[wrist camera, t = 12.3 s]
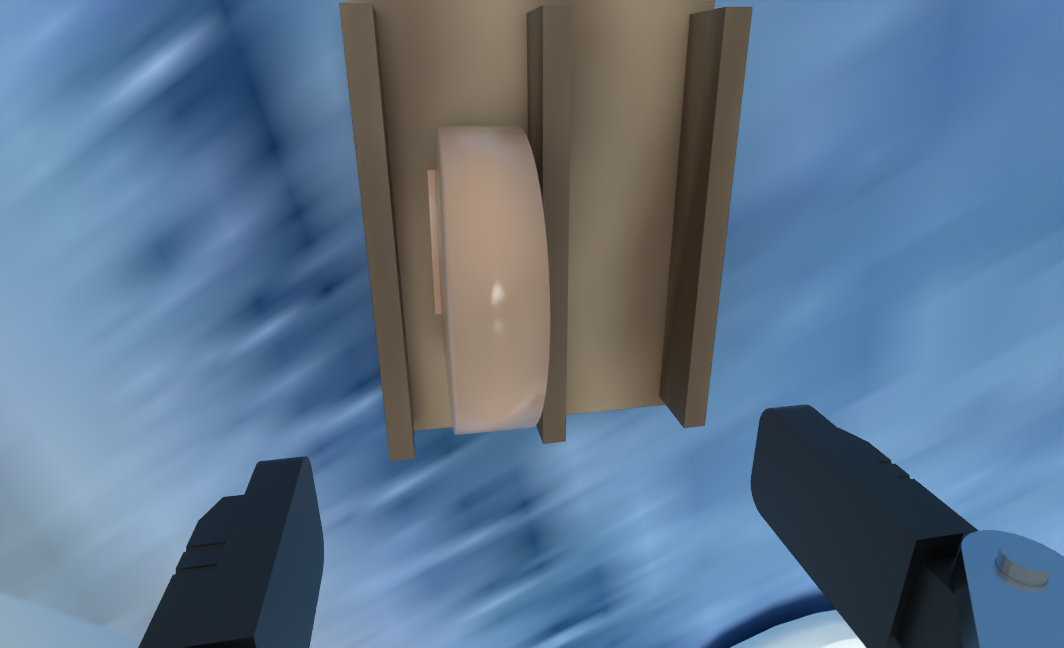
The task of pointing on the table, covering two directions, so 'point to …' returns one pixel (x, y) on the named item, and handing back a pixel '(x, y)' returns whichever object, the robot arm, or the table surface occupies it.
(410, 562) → the table surface
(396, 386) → the dish rack
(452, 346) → the saucer
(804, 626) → the plate
